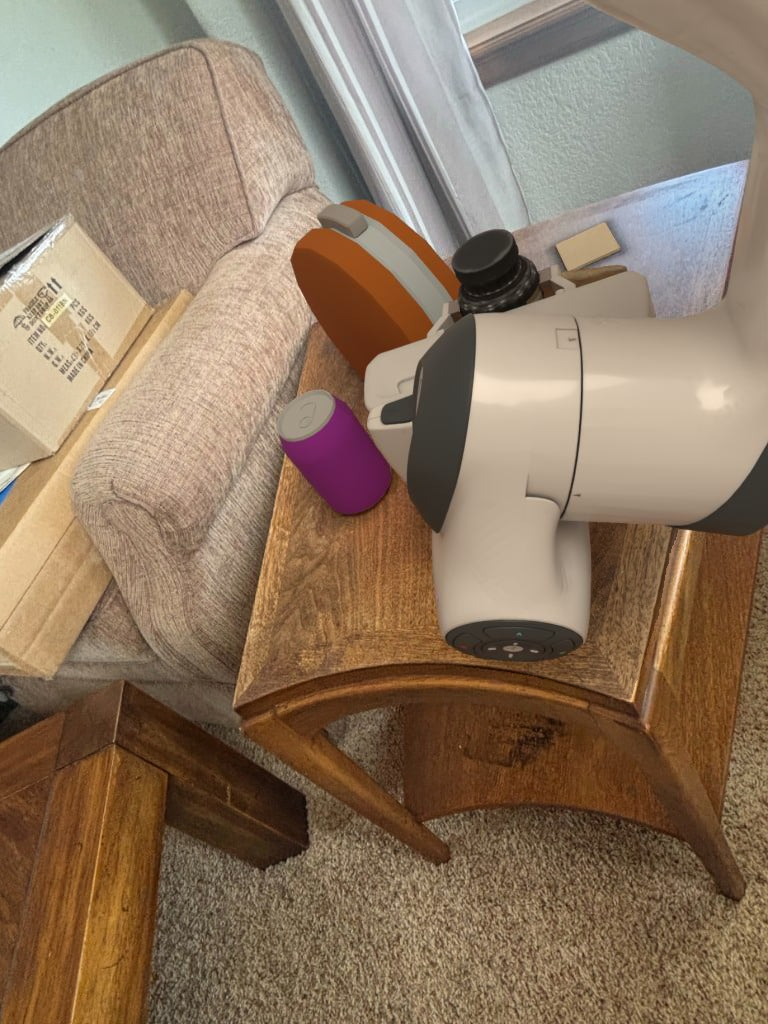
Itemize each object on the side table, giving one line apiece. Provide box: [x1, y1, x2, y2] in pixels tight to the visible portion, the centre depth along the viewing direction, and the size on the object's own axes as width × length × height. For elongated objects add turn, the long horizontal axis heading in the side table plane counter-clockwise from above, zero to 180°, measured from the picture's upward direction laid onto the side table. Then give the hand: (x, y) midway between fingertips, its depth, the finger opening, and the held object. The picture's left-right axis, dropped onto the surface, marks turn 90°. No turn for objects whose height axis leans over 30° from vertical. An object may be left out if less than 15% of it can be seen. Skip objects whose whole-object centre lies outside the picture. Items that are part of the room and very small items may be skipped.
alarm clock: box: [289, 198, 461, 381], centre depth 74 cm, size 22×10×23 cm, turn 39°
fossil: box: [560, 264, 628, 288], centre depth 77 cm, size 9×4×10 cm
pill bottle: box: [451, 228, 544, 316], centre depth 55 cm, size 6×6×11 cm
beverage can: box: [276, 388, 392, 515], centre depth 73 cm, size 8×8×12 cm
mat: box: [555, 221, 621, 271], centre depth 84 cm, size 6×6×1 cm
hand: (501, 291), depth 55 cm, fingers closed on pill bottle, 6 cm apart
